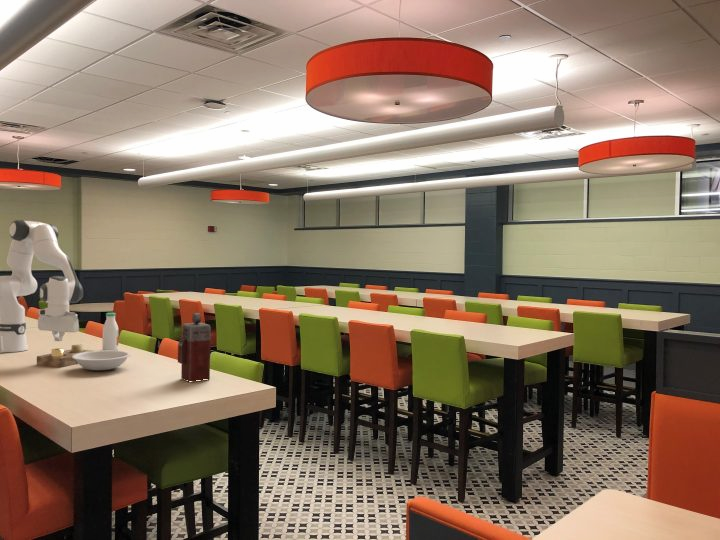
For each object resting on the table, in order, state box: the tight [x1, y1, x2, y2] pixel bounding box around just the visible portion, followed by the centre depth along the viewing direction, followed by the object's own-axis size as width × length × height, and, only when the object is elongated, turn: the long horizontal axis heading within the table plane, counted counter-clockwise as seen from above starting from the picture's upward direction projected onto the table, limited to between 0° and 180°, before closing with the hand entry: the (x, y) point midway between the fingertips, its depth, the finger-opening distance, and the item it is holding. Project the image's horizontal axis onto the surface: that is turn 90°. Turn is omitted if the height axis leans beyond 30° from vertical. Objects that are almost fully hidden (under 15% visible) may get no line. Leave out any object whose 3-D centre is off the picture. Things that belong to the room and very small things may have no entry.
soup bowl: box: [72, 350, 132, 371], centre depth 252 cm, size 24×24×7 cm
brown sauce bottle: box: [177, 312, 212, 381], centre depth 236 cm, size 9×11×28 cm
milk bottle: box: [101, 312, 119, 351], centre depth 300 cm, size 8×8×20 cm
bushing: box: [50, 347, 65, 357], centre depth 261 cm, size 5×5×7 cm
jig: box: [36, 344, 93, 368], centre depth 266 cm, size 14×22×7 cm, turn 165°
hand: (58, 341), depth 260 cm, fingers closed
